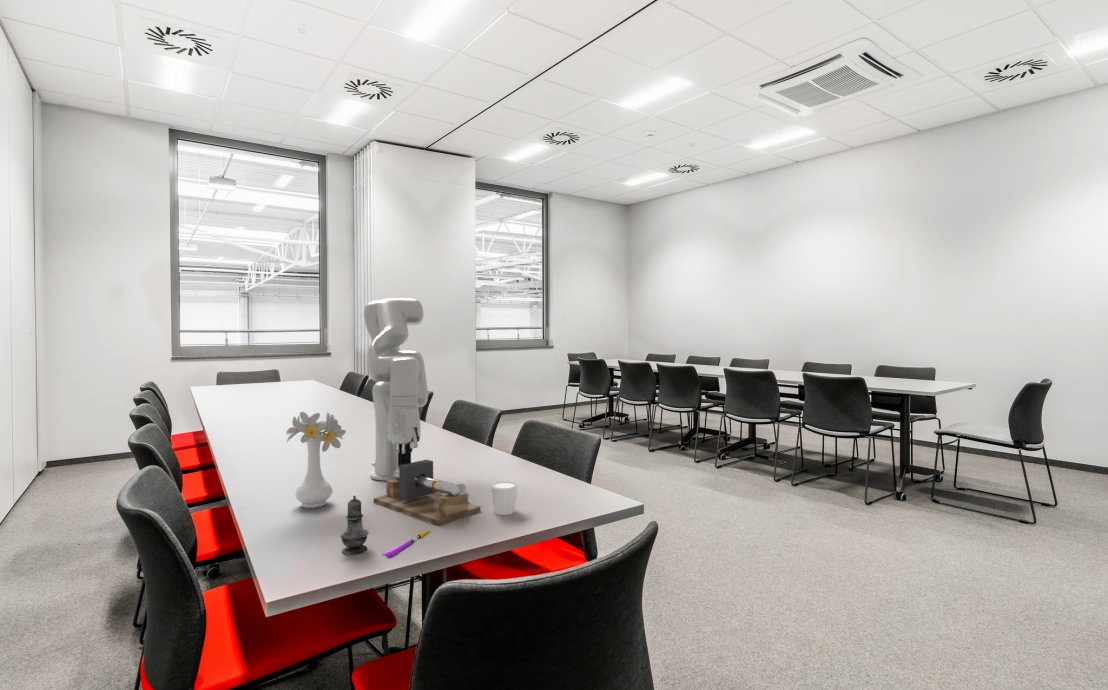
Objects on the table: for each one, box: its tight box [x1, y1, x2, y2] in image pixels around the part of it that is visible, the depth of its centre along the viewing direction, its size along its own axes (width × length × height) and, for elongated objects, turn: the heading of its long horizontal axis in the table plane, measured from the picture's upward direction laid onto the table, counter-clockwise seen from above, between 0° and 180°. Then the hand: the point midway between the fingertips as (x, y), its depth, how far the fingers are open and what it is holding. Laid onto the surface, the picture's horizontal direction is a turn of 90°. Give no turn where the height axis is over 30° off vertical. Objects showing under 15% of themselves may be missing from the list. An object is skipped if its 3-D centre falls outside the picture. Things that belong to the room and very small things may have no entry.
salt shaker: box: [339, 495, 370, 556], centre depth 118 cm, size 6×6×12 cm
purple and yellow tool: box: [381, 529, 431, 558], centre depth 122 cm, size 3×1×16 cm
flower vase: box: [285, 411, 346, 509], centre depth 148 cm, size 13×18×25 cm
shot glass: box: [490, 481, 518, 516], centre depth 144 cm, size 7×7×7 cm
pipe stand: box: [373, 478, 481, 526], centre depth 147 cm, size 28×14×5 cm, turn 51°
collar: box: [399, 459, 434, 501], centre depth 150 cm, size 3×9×9 cm, turn 141°
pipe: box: [394, 470, 461, 496], centre depth 147 cm, size 26×3×3 cm, turn 51°
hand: (404, 466), depth 153 cm, fingers closed
